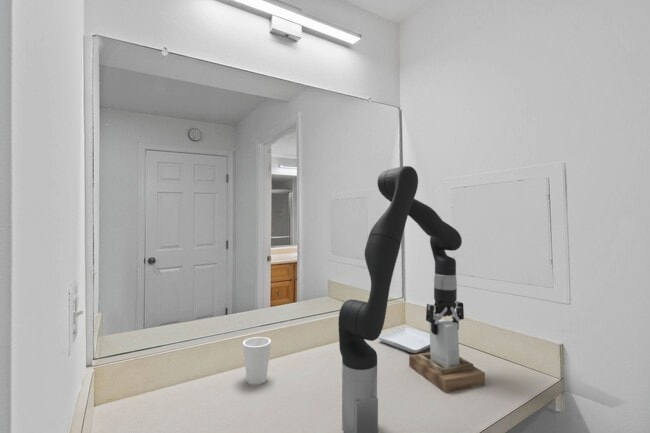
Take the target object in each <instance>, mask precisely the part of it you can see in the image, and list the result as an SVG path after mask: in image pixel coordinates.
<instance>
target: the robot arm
mask: <svg viewBox="0 0 650 433" xmlns="http://www.w3.org/2000/svg"><path fill="white" fill-rule="evenodd" d="M376 182H377V188H378V191H379V192H380V194H381V195H382V197H384V198H385V199H386V200H387V201H389V202H390V204H389V206H388V207H387V209H386V210H385V211H384V213H383V214H382V215H381V216H380V217H379V219H378V220H377V221H376V222H375V224H374V225H373V226H372V228H371V229H370V231H369V235H368V238H367V241H366V244H365V249H364V260H365V263H366V264H365V265H366V266H367V270H368V274H369V277H370V292H369V297H368V300H367V301H362V300H358V299H351V298H350V299H348V300H346V301H344V302H343V303H342V304H341V307H340V310H339V313H338V323H337V324H338V340H339V341H338V342H339V344H338V345H339V352H340V355H341V359H342V360H341V361H342V364H341V366H342V368H341V428H342V430H343V432H344V433H379V398H378V354H377V351H376V350H375V348H373V347H372V346H371V345H370V344H368V342H367V341H369V342H374V341H376V340H377V339H378V337H379V335H381V334H382V331H383V328H384V324H385V322H386V321H385V320H386V314H387V307H388V302H389V296H390V295H389V294H390V289H391V283H392V279H393V276H394V272H395V271H394V270H395V267H396V263H397V260H398V256H399V252H400V249H401V244H402V240H403V234H404V230H405V227H406V224H407V219H408V217H410V218H411V219H412V220H413V221H414V222H415V223H416V224H417V225H418V227H419V228H420V229H421V230H422V231H423V232H424V233H425V234H426V235H427V236H428V237H429V243H430V244H429V245H430V249H431V252H432V257H433V260H434V278H433V299H434V304H430V303H427V304H426V309H425V310H426V314H425V321H427V323H429V322H430V323H431V332H432V333H433V334H434V335H437V334H438V324H437V323H438V321H439V320H440V319H443V317H444V318H445V317H451V319H452V320H451V322H455V323H458V330H460V328H459V326H460V324H459V323H460V321H461V320H464V318H465V313H464V311H465V310H464V309H465V308H464V303H463V302H461V301H457V300H458V299H457V295H458V293H457V292H458V286H457V285H458V283H457V282H458V281H457V261H456V259H455V258H453V257H451V256H449V255H448V254H447V253H446V251H450V252H451V251H452V252H453V251H457V250H459V249H460V248H461V246H462V244H463V240H462V236H461V234H460V232H459V231H458V230H457V229H456V228H454V227H453V226H452V225H450V224H448V223H447V222H445V221H444V220H443V219H442V218H441V216H440V215H439V214H438V213H437V212H436V211H435V210H434V209H433V208H432V207H431V206H429V205H427V204H425V203H423V202H422V201H419V200H418V199H416V198H415V196H416V194H417V190H418V186H419V175H418V172H417V171H416V169H415V168H414V167H412V166H411V165H410V166H409V165H403V166H400V167H394V168H390V169H386V170H384V171H382V172H381V173H380V174H379V175H378V177H377V181H376Z"/></svg>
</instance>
